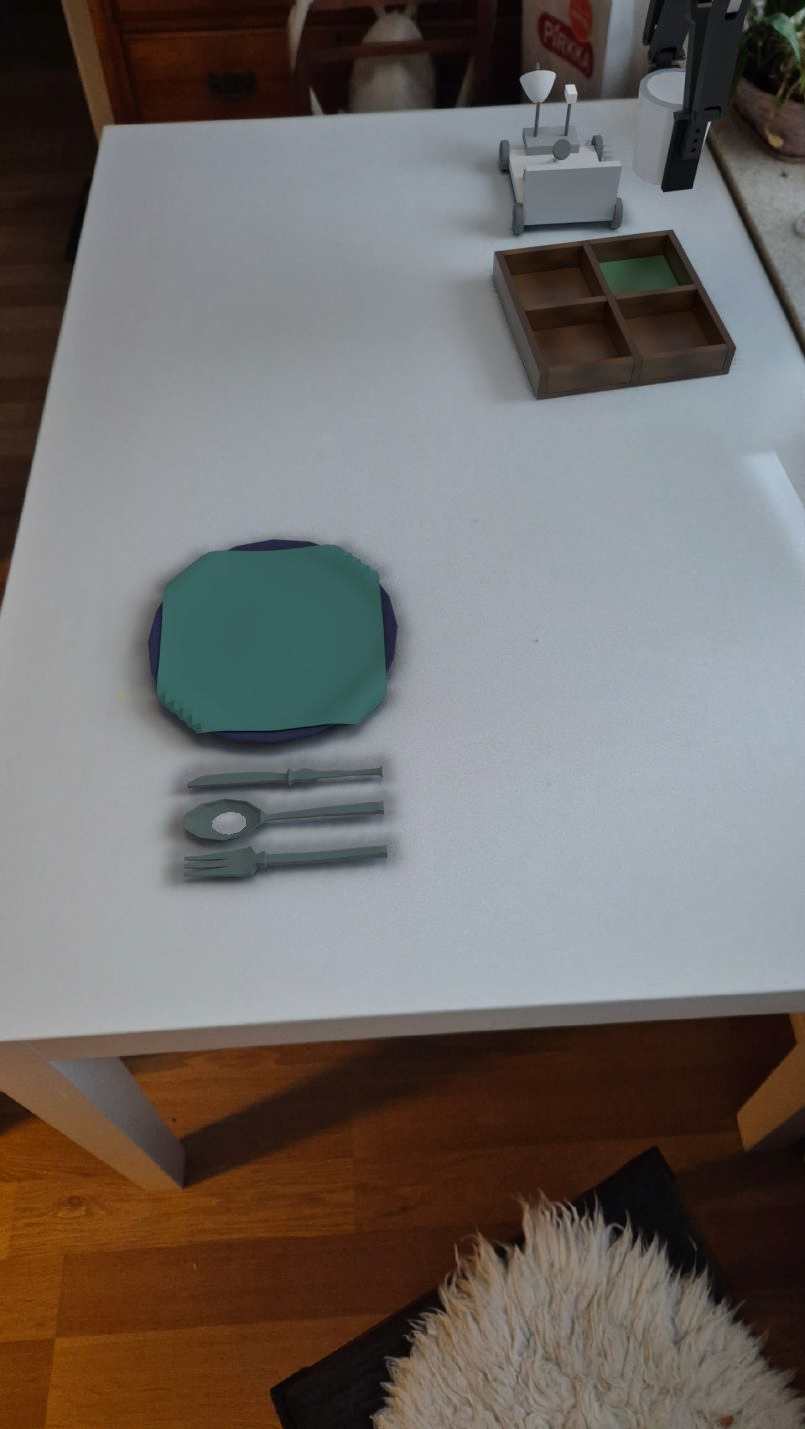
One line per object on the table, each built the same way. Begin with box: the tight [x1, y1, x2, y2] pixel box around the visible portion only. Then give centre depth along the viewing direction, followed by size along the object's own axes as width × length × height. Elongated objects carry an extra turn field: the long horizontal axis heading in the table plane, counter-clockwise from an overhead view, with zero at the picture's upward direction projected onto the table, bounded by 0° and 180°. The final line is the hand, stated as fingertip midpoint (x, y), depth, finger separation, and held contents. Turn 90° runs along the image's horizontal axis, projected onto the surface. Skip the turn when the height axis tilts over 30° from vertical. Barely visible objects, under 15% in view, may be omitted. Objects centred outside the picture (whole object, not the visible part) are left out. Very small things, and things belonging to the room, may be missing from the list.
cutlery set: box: [147, 538, 399, 878], centre depth 78 cm, size 20×30×2 cm, turn 4°
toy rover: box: [498, 62, 624, 235], centre depth 111 cm, size 18×10×12 cm
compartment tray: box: [492, 229, 737, 401], centre depth 101 cm, size 19×19×3 cm
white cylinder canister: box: [631, 68, 712, 186], centre depth 89 cm, size 7×7×7 cm
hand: (663, 165), depth 92 cm, fingers closed on white cylinder canister, 7 cm apart
